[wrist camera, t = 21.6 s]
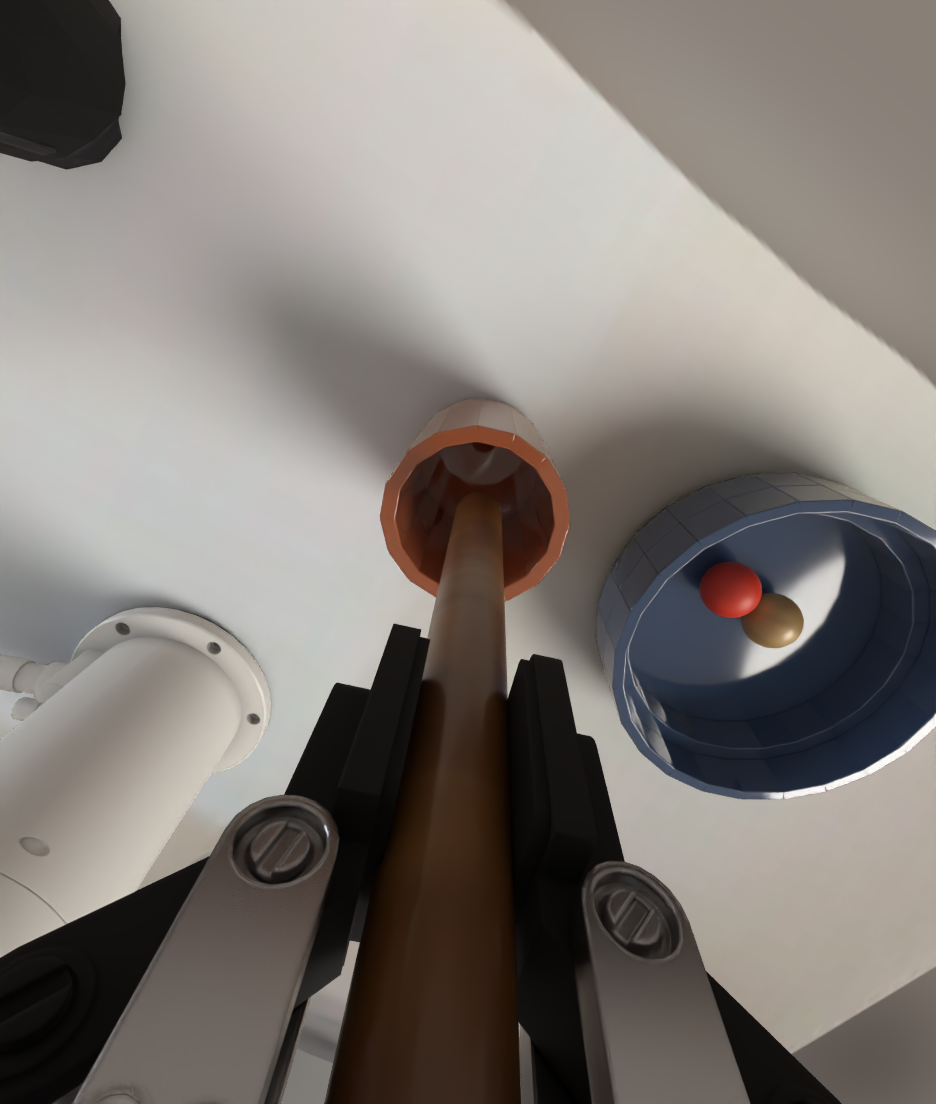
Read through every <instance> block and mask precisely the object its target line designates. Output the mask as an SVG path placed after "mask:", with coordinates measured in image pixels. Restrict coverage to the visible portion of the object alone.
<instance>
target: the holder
mask: <svg viewBox="0 0 936 1104" xmlns="http://www.w3.org/2000/svg"><path fill="white" fill-rule="evenodd" d="M474 492H482V493H486V494H489V495H490V496H492V497H493V498H495V500H496V501H497V502H498V503H499V505H500V508H501V514H502V543H503V573H504V602H505V601H508V600H510V599H512V598H514V597H515V596H517V595H519V594H521V593H523V592H525V591H527V590H528V589H530V588H532V587H534V586H536V584H538V583H539V582H540V581H541V580H542V578H543V577H544V576H545V575H546V574H547V573H548V571H549V570H550V569H551V568H552V567H553V565H554V564H555V563H556V562H557V561H558V559H559V557H560V555H561V552H562V549H563V546H564V543H565V539H566V536H567V533H568V530H569V527H570V526H569V525H570V519H569V510H568V501H567V492H566V489H565V486H564V484H563V482H562V479H561V477H560V475H559V473H558V471H557V469H556V466H555V464H554V462H553V460H552V458H551V456H550V453H549V451H548V449H547V447H546V445H545V443H544V441H543V440H542V438H541V436H540V434H539V432H538V431H537V429H536V428H535V426H534V424H533V423H532V422H531V421H530V420H529V419H528V418H527V417H526V416H525V415H523V414H522V413H521V412H520V411H518V410H517V409H515V408H514V407H512V406H509V405H507V404H505V403H502V402H499V401H496V400H490V399H470V400H465V401H461V402H458V403H455V404H452V405H450V406H449V407H447V408H445V409H443V410H442V411H440V412H439V413H438V414H436V415H435V416H434V417H432V418H431V419H430V420H429V421H428V423H427V424H426V425H425V427H424V428H423V430H422V431H421V432H420V434H419V435H418V436H417V438H416V439H415V441H414V442H413V443H412V445H411V446H410V447H409V449H408V450H407V452H406V453H405V454H404V456H403V457H402V459H401V460H400V462H399V463H398V465H397V466H396V468H395V469H394V471H393V472H392V474H391V476H390V477H389V479H388V480H387V482H386V484H385V489H384V495H383V501H382V507H381V513H380V521H381V525H382V529H383V533H384V537H385V541H386V545H387V549H388V551H389V554H390V555H391V556H392V558H393V559H394V561H395V562H396V563H397V565H398V566H399V567H400V569H401V570H402V571H403V573H404V574H405V576H406V577H407V578H408V579H409V580H410V581H411V582H413V583H414V584H416V585H417V586H419V587H420V588H422V589H424V590H425V591H427V592H428V593H430V594H431V595H433V596H435V597H437V592H438V588H439V583H440V579H441V574H442V570H443V565H444V561H445V556H446V552H447V547H448V543H449V538H450V534H451V529H452V525H453V520H454V515H455V511H456V507H457V505H458V503H459V501H460V500H461V499H462V498H463V497H465V496H466V495H468V494H470V493H474Z"/></svg>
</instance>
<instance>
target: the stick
mask: <svg viewBox="0 0 936 1104" xmlns="http://www.w3.org/2000/svg"><path fill="white" fill-rule="evenodd" d="M427 639H430V644H429V649H428V654H427V659H426V663H425V668H424V673H423V678H422V682H421V687H420V692H419V697H418V702H417V706H416V711H415V716H414V721H413V725H412V730H411V735H410V740H409V745H408V749H407V754H406V759H405V764H404V768H403V773H402V778H401V783H400V787H399V792H398V797H397V801H396V806H395V810H394V814H393V819H392V823H391V827H390V832H389V836H388V840H387V845H386V849H385V853H384V858H383V861H382V863H381V864H380V865H379V867H378V869H377V871H376V874H375V877H374V881H373V886H372V890H371V895H370V899H369V904H368V908H367V913H366V917H365V922H364V926H363V931H362V935H361V940H360V944H359V949H358V953H357V958H356V963H355V967H354V972H353V976H352V981H351V985H350V990H349V994H348V999H347V1003H346V1008H345V1012H344V1017H343V1021H342V1026H341V1030H340V1035H339V1039H338V1044H337V1048H336V1053H335V1057H334V1062H333V1066H332V1071H331V1075H330V1080H329V1084H328V1089H327V1094H326V1098H325V1103H324V1104H521V1085H520V1055H519V1025H518V995H517V965H516V935H515V905H514V885H513V854H512V823H511V792H510V762H509V731H508V694H507V664H506V633H505V603H504V573H503V543H502V514H501V508H500V505H499V503H498V502H497V501H496V500H495V498H493V497H492V496H490V495H489V494H486V493H482V492H474V493H470V494H468V495H466V496H465V497H463V498H462V499H461V500H460V501H459V503H458V505H457V507H456V511H455V515H454V520H453V525H452V529H451V534H450V538H449V543H448V547H447V552H446V556H445V561H444V565H443V570H442V574H441V579H440V583H439V588H438V592H437V597H436V601H435V606H434V610H433V615H432V619H431V624H430V628H429V633H428V637H427Z"/></svg>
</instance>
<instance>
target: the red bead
mask: <svg viewBox="0 0 936 1104" xmlns="http://www.w3.org/2000/svg"><path fill="white" fill-rule="evenodd" d="M761 595H762V586H761V582H760V580H759V578H758V576H757V575H756V573H755V572H754V571H753V570H752V569H750V568H749V567H748V566H746V565H744V564H741V563H738V562H722V563H719V564H716V565H714V566H712V567H711V568H710V569H708V570H707V571H706V573H705V574H704V575H703V577H702V579H701V582H700V596H701V599H702V601H703V603H704V604H705V606H706V607H707V608H708V609H709V610H710V611H712V612H713V613H715V614H717V615H719V616H722V617H726V618H737V617H741V616H744V615H747V614H748V613H750V612H751V611H753V610H754V609H755V608H756V606H757V605H758V603H759V601H760V599H761Z"/></svg>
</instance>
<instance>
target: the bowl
mask: <svg viewBox="0 0 936 1104" xmlns="http://www.w3.org/2000/svg"><path fill="white" fill-rule="evenodd" d="M722 562H738V563H741V564H744V565H746V566H748V567H749V568H750V569H752V570H753V571H754V572H755V573H756V575H757V576H758V578H759V580H760V582H761V586H762V594H763V593H777V594H781V595H784V596H786V597H788V598H790V599H791V600H793V601H794V602H795V603H796V604H797V605H798V607H799V608H800V610H801V612H802V615H803V619H804V625H803V630H802V632H801V634H800V636H799V637H798V638H797V639H796V641H794V642H793V643H791V644H790V645H788V646H785V647H782V648H766V647H763V646H760V645H758V644H756V643H754V642H753V641H752V640H750V639H749V638H748V637H747V635H746V634H745V632H744V631H743V629H742V626H741V617H737V618H726V617H722V616H719V615H717V614H715V613H713V612H712V611H710V610H709V609H708V608H707V607H706V606H705V604H704V603H703V601H702V599H701V596H700V582H701V579H702V577H703V575H704V574H705V573H706V571H707V570H708V569H710V568H711V567H712V566H714V565H716V564H719V563H722ZM596 643H597V646H598V650H599V654H600V658H601V662H602V666H603V669H604V672H605V675H606V679H607V682H608V685H609V688H610V691H611V694H612V697H613V700H614V703H615V706H616V709H617V712H618V715H619V718H620V721H621V724H622V725H623V727H624V728H625V730H626V731H627V733H628V734H629V736H630V738H631V739H632V741H633V742H634V744H635V745H636V747H637V748H638V750H639V751H640V752H641V753H642V754H643V755H644V756H645V757H646V758H648V759H649V760H650V761H651V762H652V763H654V764H655V765H656V766H657V767H658V768H659V769H661V770H662V771H663V772H664V773H665V774H667V775H668V776H670V777H672V778H675V779H677V780H679V781H681V782H683V783H685V784H687V785H690V786H692V787H694V788H696V789H698V790H700V791H703V792H708V793H713V794H718V795H723V796H727V797H732V798H737V799H788V798H794V797H799V796H805V795H810V794H815V793H821V792H825V791H829V790H832V789H834V788H837V787H839V786H842V785H845V784H847V783H850V782H853V781H855V780H858V779H861V778H863V777H866V776H868V775H871V774H872V773H874V772H875V771H877V770H879V769H880V768H882V767H884V766H885V765H887V764H889V763H890V762H892V761H894V760H895V759H897V758H899V757H900V756H902V755H904V754H905V753H907V752H908V751H909V750H911V749H912V748H913V747H914V746H915V745H916V744H917V743H918V742H919V741H920V740H922V739H923V738H924V737H925V736H926V735H927V734H928V733H929V732H930V731H931V730H933V729H934V728H935V727H936V530H934V529H932V528H930V527H929V526H927V525H925V524H924V523H922V522H920V521H919V520H917V519H915V518H913V517H912V516H910V515H908V514H907V513H905V512H903V511H901V510H899V509H896V508H894V507H892V506H889V505H887V504H885V503H883V502H880V501H878V500H876V499H873V498H871V497H869V496H867V495H864V494H862V493H860V492H858V491H855V490H853V489H851V488H848V487H846V486H844V485H842V484H839V483H837V482H833V481H829V480H824V479H820V478H816V477H812V476H808V475H803V474H799V473H773V474H751V475H750V474H749V475H745V476H742V477H738V478H735V479H731V480H727V481H724V482H720V483H716V484H713V485H709V486H706V487H704V488H702V489H700V490H698V491H696V492H694V493H692V494H691V495H689V496H687V497H685V498H683V499H681V500H679V501H678V502H676V503H674V504H672V505H670V506H668V507H666V508H665V509H664V510H663V511H662V512H660V513H659V514H658V515H657V516H656V517H655V518H654V519H652V520H651V521H650V522H649V523H648V524H647V525H646V526H645V527H643V528H642V529H641V530H640V531H639V532H638V533H637V534H636V535H634V536H633V538H632V539H631V540H630V542H629V543H628V545H627V546H626V548H625V549H624V551H623V552H622V553H621V555H620V556H619V558H618V559H617V561H616V562H615V564H614V565H613V566H612V568H611V570H610V571H609V574H608V577H607V579H606V582H605V585H604V588H603V591H602V593H601V596H600V599H599V602H598V606H597V624H596Z"/></svg>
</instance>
